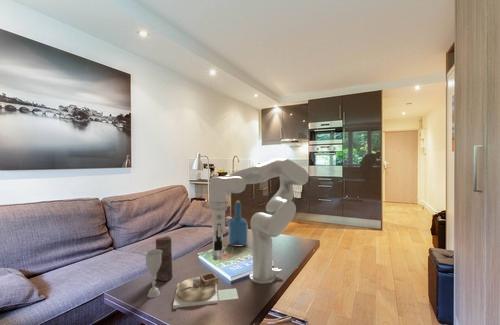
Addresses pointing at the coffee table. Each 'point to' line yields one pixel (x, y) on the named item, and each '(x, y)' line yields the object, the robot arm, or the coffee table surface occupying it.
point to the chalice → (153, 269)
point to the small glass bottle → (216, 254)
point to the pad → (227, 294)
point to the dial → (197, 287)
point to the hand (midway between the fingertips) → (217, 247)
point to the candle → (165, 258)
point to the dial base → (182, 303)
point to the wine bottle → (238, 228)
